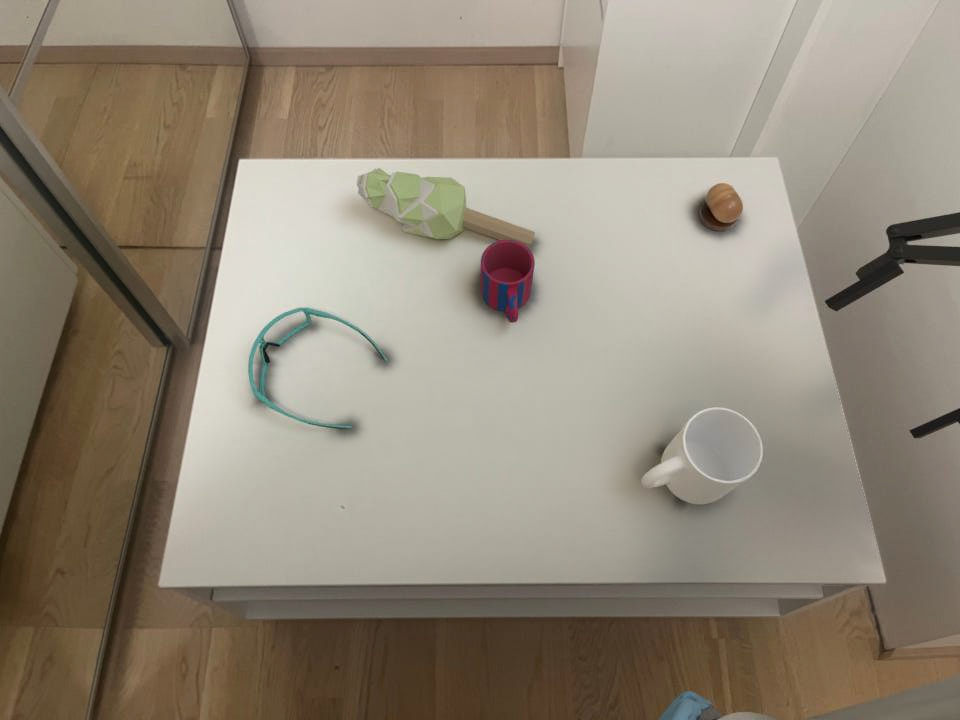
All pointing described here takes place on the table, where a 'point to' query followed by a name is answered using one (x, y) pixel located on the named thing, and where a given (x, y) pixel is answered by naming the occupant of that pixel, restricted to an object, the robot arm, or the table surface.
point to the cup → (507, 276)
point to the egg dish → (721, 208)
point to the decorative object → (432, 206)
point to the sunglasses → (265, 344)
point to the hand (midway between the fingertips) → (870, 367)
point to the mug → (708, 457)
